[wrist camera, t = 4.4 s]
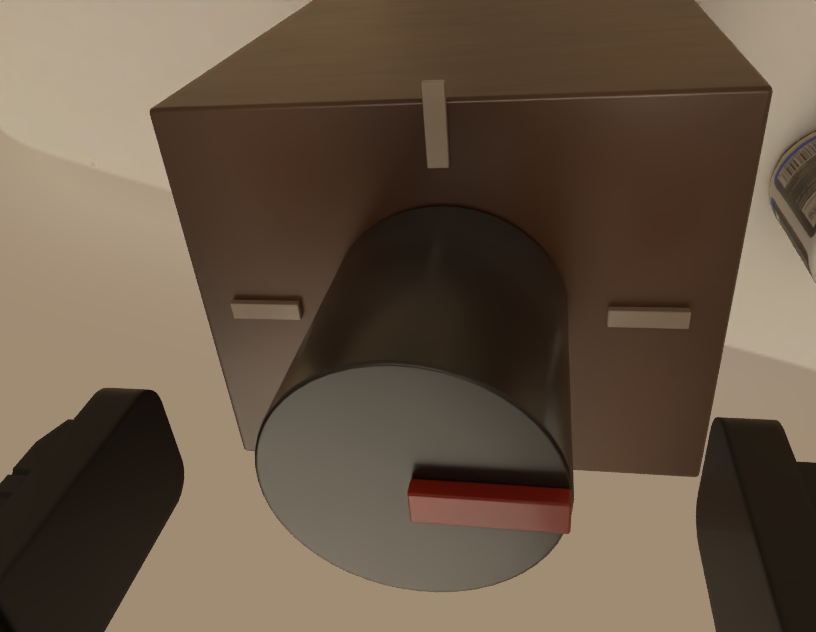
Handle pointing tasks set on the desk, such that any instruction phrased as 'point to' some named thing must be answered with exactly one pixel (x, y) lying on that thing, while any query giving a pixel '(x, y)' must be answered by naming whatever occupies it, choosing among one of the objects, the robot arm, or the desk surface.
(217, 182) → the block
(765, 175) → the desk surface
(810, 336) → the desk surface
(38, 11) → the desk surface
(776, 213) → the pill bottle
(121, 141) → the desk surface
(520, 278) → the rotary dial knob
